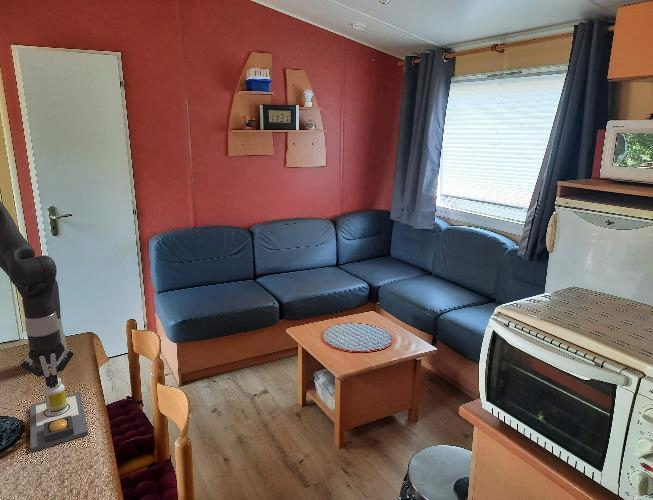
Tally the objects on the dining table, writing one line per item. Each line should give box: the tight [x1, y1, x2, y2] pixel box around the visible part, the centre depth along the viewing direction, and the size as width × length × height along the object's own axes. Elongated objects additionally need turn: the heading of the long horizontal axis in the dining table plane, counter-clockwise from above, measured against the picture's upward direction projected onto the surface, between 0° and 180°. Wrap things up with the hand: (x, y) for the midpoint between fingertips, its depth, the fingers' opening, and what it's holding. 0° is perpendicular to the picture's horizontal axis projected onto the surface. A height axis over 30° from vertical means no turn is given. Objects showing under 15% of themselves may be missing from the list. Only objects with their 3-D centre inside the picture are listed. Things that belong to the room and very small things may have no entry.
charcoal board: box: [29, 391, 89, 453], centre depth 139 cm, size 24×14×3 cm, turn 32°
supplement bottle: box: [43, 377, 67, 414], centre depth 141 cm, size 5×5×10 cm
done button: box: [49, 419, 68, 433], centre depth 132 cm, size 4×4×2 cm
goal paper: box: [36, 396, 79, 427], centre depth 142 cm, size 12×11×1 cm
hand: (52, 386), depth 129 cm, fingers closed
